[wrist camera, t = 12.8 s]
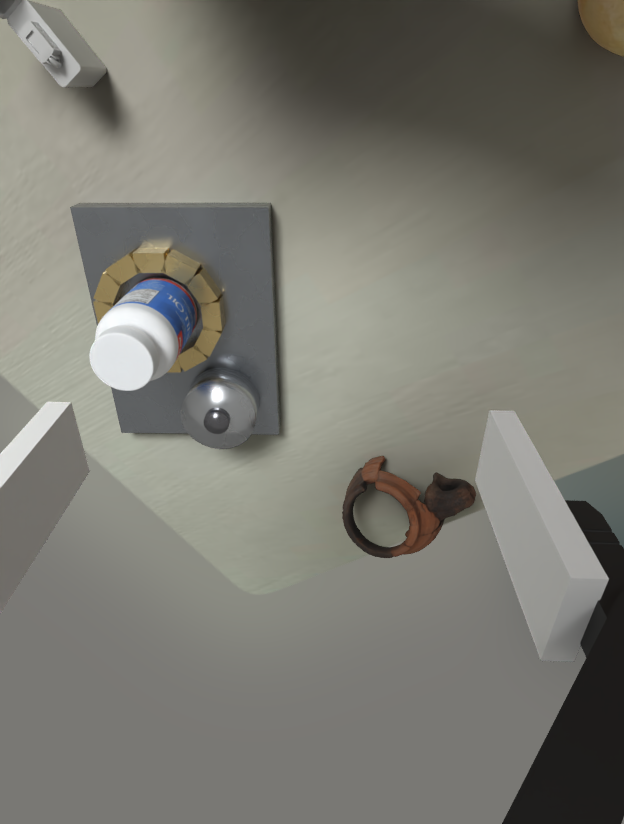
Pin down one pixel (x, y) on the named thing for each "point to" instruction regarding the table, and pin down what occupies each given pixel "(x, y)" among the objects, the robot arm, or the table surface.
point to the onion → (604, 23)
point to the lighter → (54, 42)
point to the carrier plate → (216, 311)
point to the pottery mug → (407, 507)
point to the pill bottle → (143, 334)
